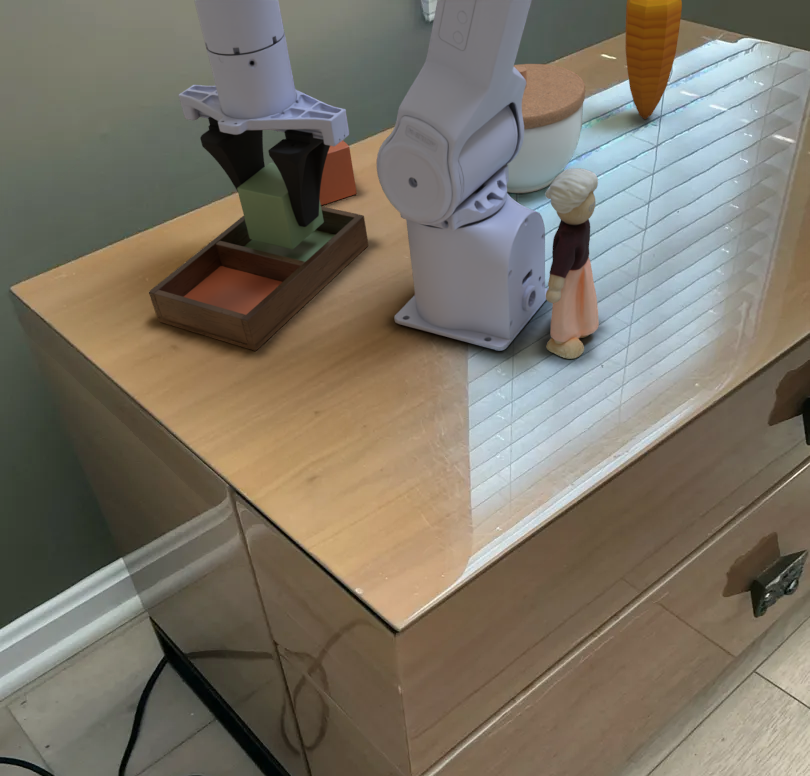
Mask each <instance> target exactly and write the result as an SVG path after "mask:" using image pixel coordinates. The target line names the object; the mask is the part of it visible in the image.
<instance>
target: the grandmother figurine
mask: <svg viewBox="0 0 810 776" xmlns="http://www.w3.org/2000/svg"><path fill="white" fill-rule="evenodd" d="M598 184H599V178H598V176H597V175H596V173H595V172H593V171H591V170H588V169H585V168H580V167H578V168H567V169H565V170H562V171H561V172H560V173H559V174H558V175H557V176H556V178H555V179H554V181H553V182H552V183H551V184H550V185H549V187H548V188H547V189H546V190H545V192H544V196H545V197H546V199H547V200H550V204H551V206H552V208H553V209H554V211H555V212H556V214H557V217H558V218H559V220H560V221H559V225H558V227H557V230H556V232H555V234H554V235H553V239H552V253H551V254H552V255H551V257H552V260H551V265H550V269H549V276H548V277H549V278H548V282H547V286H548V288H547V289H548V290H547V292H546V301H547V302H548V303H550V304H552V307H551V319H550V330H549V331H550V332H549V333H550V338H549V340H548V341H547V343H546V346H545V347H546V350H547V351H549V352H550V353H552V354H555V355H557V356H558V357H561V358H563V359H569V360H570V359H571V360H573V359H576V358H578V357H580V356H581V355H583V353H584V352H585V346H584V343H583V341H581V340H580V339H583V338H587V337H588V336H589V335H592V334H594V333H595V332H596V331H597V330H598V329H599V325H600V324H599V323H600V322H599V307H598V298H597V291H596V287H595V282H594V275H593V270H592V263H591V259H590V242H591V222H590V219H591V217H592V216H593V214H594V212H595V209H596V196H595V194H594V192H595V191H596V190H597V188H598V186H599V185H598Z"/></svg>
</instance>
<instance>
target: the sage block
mask: <svg viewBox="0 0 810 776" xmlns="http://www.w3.org/2000/svg"><path fill="white" fill-rule="evenodd" d="M237 190H238V192H237V194H238V198H239V202H240V205H241V210H242V214H243V216H244V218H245V222H246V226H247V230H248V234H249V238H250V239H252V240H256V241H261V242H265V243H269V244H273V245H277V246H281V247H285V248H289V249H294V248H295V247H296V246H297V245H298V244H300V243H301V242H302V241H303V240H304V239H305V238H307V237H308V236H309V235H310V234H311V233H312V232H313V231H315V230H316V229H317V228H318V227H319V226H320V225H321V224H323V223H324V220H323V215H322V209H321V206H322V205H321V204H320V200H319V216H318V217H317V218H316V219H315V220H313V221H312V222H311V223H310V224H309V225H308V226H306V227H302V226H299V225H298V223H297V221H296V218H295V216H294V213H293V210H292V206H291V202H290V198H289V194H288V191H287V188H286V185H285V183H284V180H283V178H282V176H281V174H280V172H279V170H278V168H277V166H276V165H275V163H274V162H269V163H268V164H266V165H265V167H264V168H262V169H261V170H260V171H259V172H257V173H256V174H255V175H253V176H252V177H251V178H250V179H248V180H247V181H246V182H244V183H243V184H242V185H240V186H239V187H238V188H237ZM237 190H236V191H237Z"/></svg>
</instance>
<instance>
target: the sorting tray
mask: <svg viewBox="0 0 810 776" xmlns="http://www.w3.org/2000/svg"><path fill="white" fill-rule="evenodd" d="M321 209H322V215H323V220H324V223H323V224H321V225H320V226H319V227H318V228H317V229H316V230H315V231H313V232H312V233H311V234H310V235H309V236H308V237H307V238H305V239H304V240H303V241H302V242H301V243H300V244H298V245H297V246H296V247H295V248H294V249H289V248H285V247H281V246H277V245H273V244H269V243H265V242H261V241H256V240H252V239H250V238H249V234H248V230H247V226H246V222H245V218H244V215H242V216H241V217H240V218H238V219H237V220H236V221H235V222H234V223H233V224H231V225H230V226H228V228H226V229H225V230H224V231H222V232H221V233H220V234H219V235H217V236H216V237H215V238H213V239H212V240H211V241H210V242H209V243H207V244H206V245H205V246H203V247H202V248H201V249H200V250H199V251H197V252H196V253H195V254H194V255H192V256H191V257H190V258H189V259H187V260H186V261H185V262H184V263H183V264H181V265H180V266H178V268H176V269H175V270H174V271H173V272H171V273H170V274H168V275H167V276H166V277H165V278H164V279H163V280H161V281H160V282H159V283H158V284H156V285H155V286H154V287H153V288H152V289H150V290H149V291H148V295H149V297H150V301H151V303H152V306H153V309H154V312H155V315H156V317H157V320H158V322H159V323H163V324H165V325H169V326H172V327H174V328H175V327H176V328H179V329H182V330H185V331H189V332H192V333H195V334H198V335H202V336H204V337H205V336H206V337H207V338H208V337H209V338H211V339H215V340H218V341H222V342H225V343H228V344H231V345H234V346H238V347H241V348H244V349H248V350H252V351H257V350H259V349H260V348H261V347H262V346H263V345H265V343H266V342H267V341H268V340H269V339H270V338H271V337H272V336H273V335H275V334H276V333H277V332H278V331H279V330H280V329H281V328H282V327H283V326H284V325H286V324H287V322H288V321H290V320H291V319H292V318H293V317H294V316H295V315H296V314H297V313H298V312H299V311H300V310H301V309H302V308H304V306H305V305H306V304H308V303H309V302H310V301H311V300H312V299H313V298H314V297H315V296H316V295H317V294H318V293H319V292H321V291H322V289H324V288H325V287H326V286H327V285H328V284H329V283H330V282H331V281H332V280H333V279H335V277H337V276H338V274H339V273H341V272H342V271H343V270H345V268H346V267H347V266H348V265H349V264H350V263H352V261H354V259H356V258H357V257H358V256H359V255H360V254H361V253H362V252H364V250H366V248H367V247H369V240H368V234H367V233H368V232H367V226H366V221H365V215H363V214H358V213H354V212H350V211H346V210H341V209H337V208H336V209H335V208H332V207H328V206H327V207H326V206H323V205H321Z"/></svg>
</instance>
